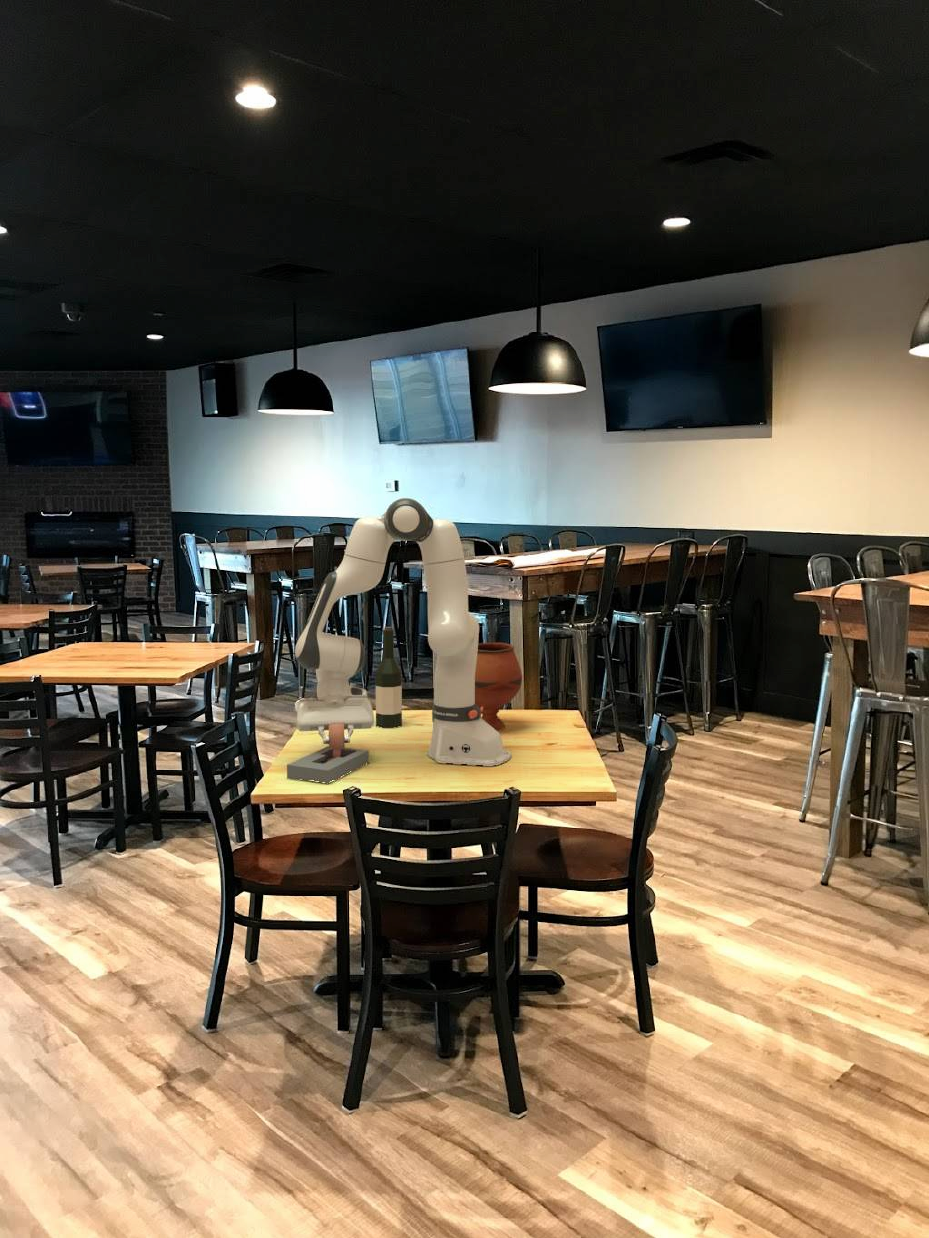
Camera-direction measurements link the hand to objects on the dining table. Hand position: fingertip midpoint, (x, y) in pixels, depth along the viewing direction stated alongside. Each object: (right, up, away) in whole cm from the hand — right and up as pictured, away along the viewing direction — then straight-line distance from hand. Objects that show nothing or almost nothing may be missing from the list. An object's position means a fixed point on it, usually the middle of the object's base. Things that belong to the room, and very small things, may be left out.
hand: (336, 742), depth 261 cm
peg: (0, -6, +2) cm, 6 cm away
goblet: (+41, -1, +43) cm, 59 cm away
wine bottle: (+10, 0, +46) cm, 47 cm away
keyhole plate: (-2, -7, -2) cm, 7 cm away
